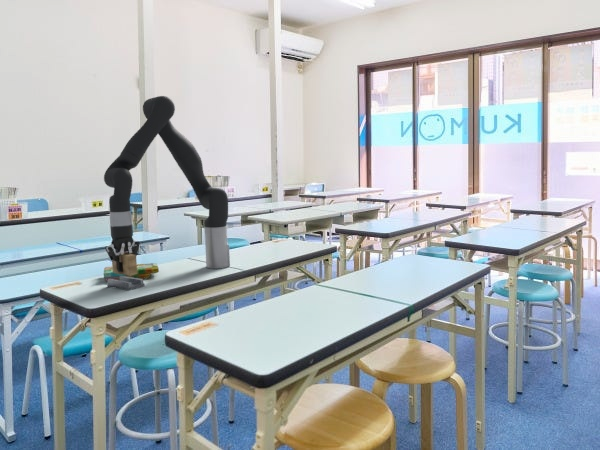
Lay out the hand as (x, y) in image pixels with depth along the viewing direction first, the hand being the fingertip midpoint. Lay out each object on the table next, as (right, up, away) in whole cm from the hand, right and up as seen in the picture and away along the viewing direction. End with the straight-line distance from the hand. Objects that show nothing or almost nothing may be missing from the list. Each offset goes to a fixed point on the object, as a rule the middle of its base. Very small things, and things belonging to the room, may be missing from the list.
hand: (124, 270), depth 185 cm
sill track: (0, -6, +1) cm, 6 cm away
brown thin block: (0, -1, 0) cm, 1 cm away
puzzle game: (-3, -4, +16) cm, 16 cm away
